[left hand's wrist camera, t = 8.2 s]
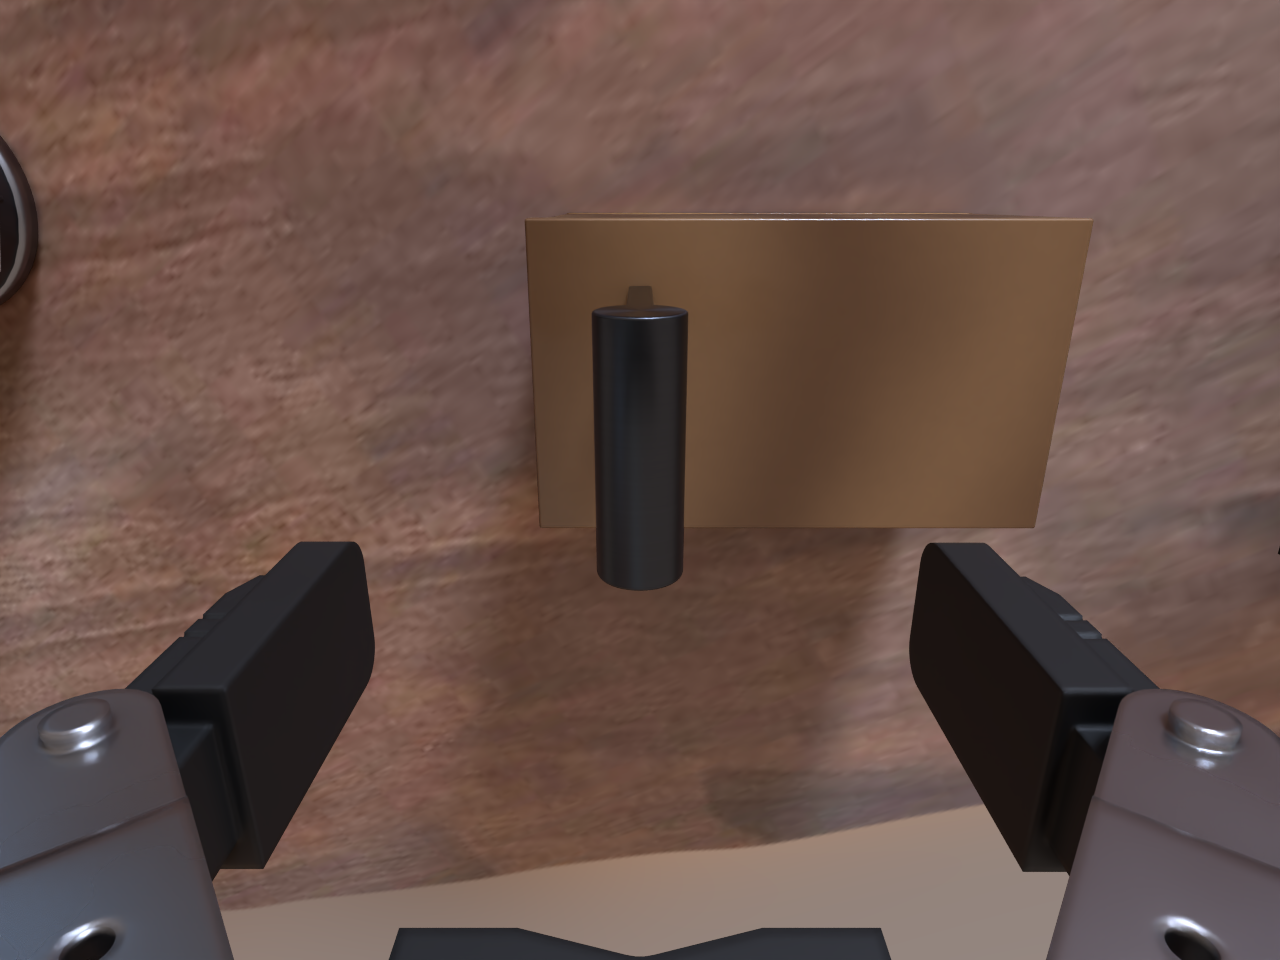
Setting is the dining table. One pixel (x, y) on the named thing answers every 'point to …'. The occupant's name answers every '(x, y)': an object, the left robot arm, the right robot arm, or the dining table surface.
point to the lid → (793, 374)
